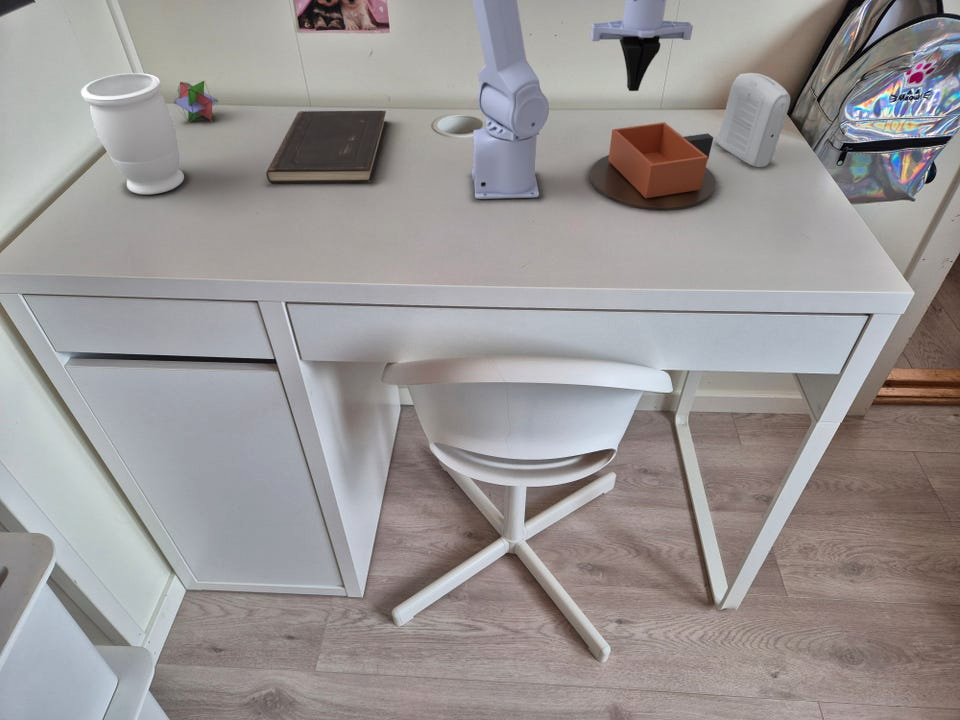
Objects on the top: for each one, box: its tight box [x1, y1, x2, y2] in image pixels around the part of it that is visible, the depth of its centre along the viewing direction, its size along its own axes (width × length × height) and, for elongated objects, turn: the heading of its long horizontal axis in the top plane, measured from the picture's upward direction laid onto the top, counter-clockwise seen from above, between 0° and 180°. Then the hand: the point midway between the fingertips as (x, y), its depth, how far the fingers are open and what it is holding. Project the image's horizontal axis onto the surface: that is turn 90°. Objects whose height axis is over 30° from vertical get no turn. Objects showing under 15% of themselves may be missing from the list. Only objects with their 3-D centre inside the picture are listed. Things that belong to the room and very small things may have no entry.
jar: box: [80, 72, 185, 196], centre depth 97 cm, size 11×10×15 cm
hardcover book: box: [265, 110, 388, 185], centre depth 109 cm, size 16×23×2 cm
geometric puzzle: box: [172, 80, 219, 123], centre depth 118 cm, size 7×7×8 cm
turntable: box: [589, 154, 717, 212], centre depth 101 cm, size 19×19×1 cm
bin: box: [608, 121, 714, 198], centre depth 99 cm, size 13×13×5 cm
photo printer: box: [717, 72, 791, 168], centre depth 103 cm, size 10×4×12 cm, turn 23°
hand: (632, 88), depth 102 cm, fingers closed
